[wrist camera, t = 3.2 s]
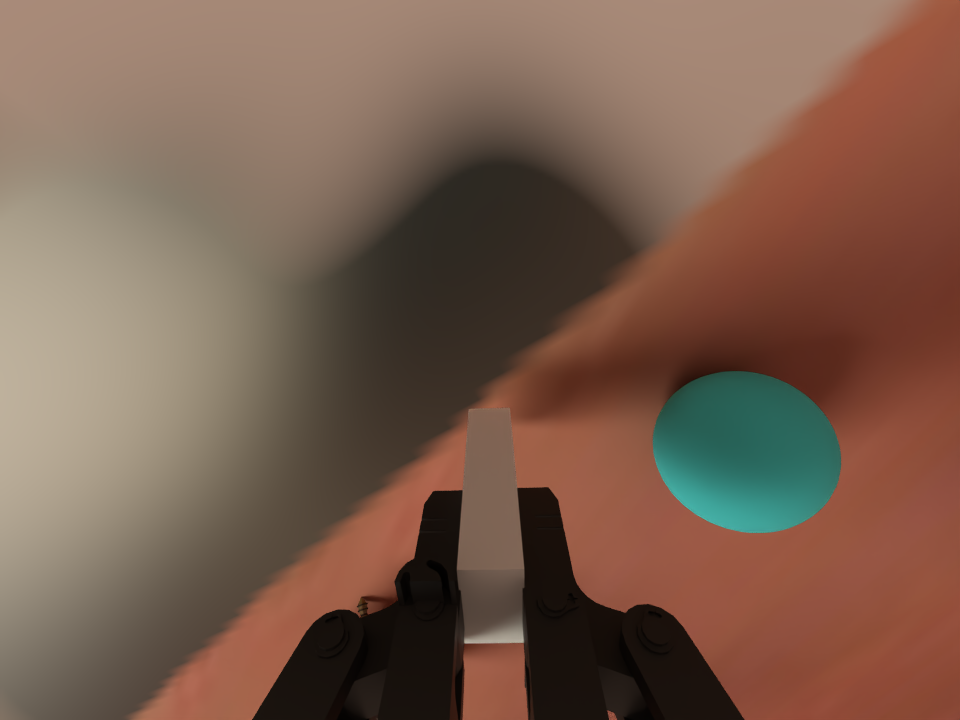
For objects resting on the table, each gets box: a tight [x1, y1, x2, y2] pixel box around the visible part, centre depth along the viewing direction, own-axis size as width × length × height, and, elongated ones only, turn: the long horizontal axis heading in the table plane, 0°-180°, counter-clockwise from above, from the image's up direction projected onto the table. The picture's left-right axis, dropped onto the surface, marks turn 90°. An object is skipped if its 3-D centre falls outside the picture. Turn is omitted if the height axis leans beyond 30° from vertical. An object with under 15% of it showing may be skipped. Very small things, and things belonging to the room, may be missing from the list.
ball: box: [653, 371, 841, 533], centre depth 14 cm, size 6×6×6 cm
